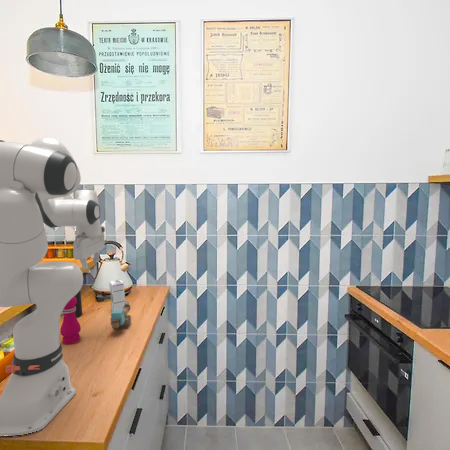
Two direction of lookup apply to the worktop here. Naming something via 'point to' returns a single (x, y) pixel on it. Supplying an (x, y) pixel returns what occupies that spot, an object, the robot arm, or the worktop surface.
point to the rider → (118, 316)
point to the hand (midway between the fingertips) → (91, 265)
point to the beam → (127, 318)
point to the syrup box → (117, 294)
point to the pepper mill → (70, 323)
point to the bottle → (78, 305)
